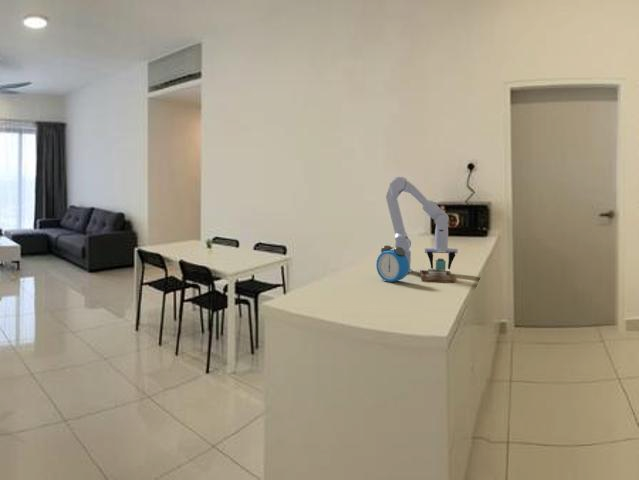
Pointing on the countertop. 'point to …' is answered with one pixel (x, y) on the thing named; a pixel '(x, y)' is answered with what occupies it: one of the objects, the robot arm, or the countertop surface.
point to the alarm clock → (392, 264)
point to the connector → (440, 264)
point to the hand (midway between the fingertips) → (440, 268)
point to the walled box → (436, 275)
